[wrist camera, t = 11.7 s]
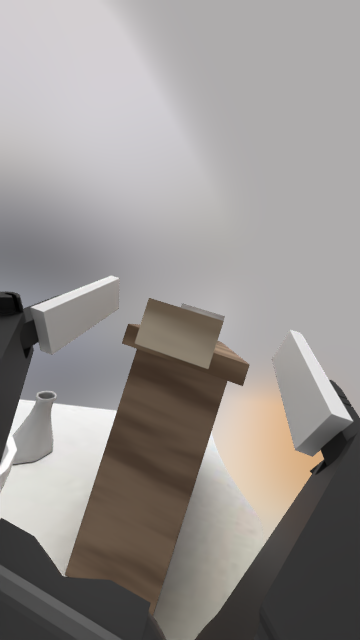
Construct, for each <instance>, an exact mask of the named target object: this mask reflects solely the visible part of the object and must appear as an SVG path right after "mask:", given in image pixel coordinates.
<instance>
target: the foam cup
mask: <svg viewBox="0 0 360 640" xmlns="http://www.w3.org/2000/svg"><path fill="white" fill-rule="evenodd" d="M16 451H17V448H16V445H15V442H14V439H13V436H12V435H10V434H9V436H8V440H7V443H6V446H5V450H4V453H3V457H2V460H1V463H0V492H1V490H2V488H3V486H4V484H5V482H6V479H7V477H8V475H9V473H10V470H11V467H12V464H13V461H14V457H15V454H16Z"/></svg>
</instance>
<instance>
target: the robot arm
mask: <svg viewBox="0 0 360 640" xmlns="http://www.w3.org/2000/svg"><path fill="white" fill-rule="evenodd" d="M118 307H119V278H117V277H113V276H109V277H107V278H104V279H101V280H99V281H97V282H94V283H91V284H89V285H86V286H84V287H81V288H78V289H76V290H73V291H71V292H68V293H66V294H63V295H58V296H55V297H53V298H51V299H47V300H45V301H42V302H40V303H37V304H35V305H32V306H29V307H27V308H24V309H23V306H22V302H21V298H20V295H19V294H17V293H14V292H0V463H1V460H2V457H3V453H4V450H5V446H6V443H7V440H8V436H9V433H10V429H11V426H12V423H13V419H14V416H15V412H16V409H17V406H18V402H19V399H20V395H21V392H22V389H23V385H24V381H25V378H26V375H27V372H28V368H29V365H30V361H31V358H32V354H33V351H34V350H33V345H34V344H36V343H37V342H39V345H40V350H41V351H44V352H46V353H49V354H51V355H52V354H54V353H55V352H57V351H58V350H60V349H61V348H62V347H64V346H65V345H67V344H68V343H70V342H71V341H73V340H74V339H76V338H77V337H78V336H80V335H81V334H83V333H84V332H86V331H87V330H89V329H90V328H91V327H93V326H94V325H96V324H97V323H99V322H100V321H102V320H103V319H105V318H106V317H107V316H109V315H110V314H112V313H113V312H115V311H116V310H117V309H118ZM272 361H273V365H274V369H275V373H276V377H277V381H278V385H279V389H280V392H281V397H282V401H283V405H284V409H285V412H286V416H287V420H288V424H289V428H290V432H291V436H292V440H293V444H294V448H295V450H297V451H299V452H302V453H305V454H307V455H310V456H314V455H315V454H316V453H317V452H319V451H320V450H321V452H322V454H323V457H324V460H323V461H322V462H320V463H319V464H318V465H317V466H315V467H314V468H313V469H312V470H311V471H310V472H311V473H312V475H311V477H310V478H309V480H308V481H307V483H306V484H305V486H304V487H303V489H302V490H301V491H300V493H299V494H298V496H297V497H296V499H295V500H294V502H293V503H292V505H291V506H290V508H289V509H288V511H287V512H286V514H285V515H284V516H283V518H282V520H281V521H280V522H279V524H278V525H277V527H276V528H275V530H274V531H273V533H272V534H271V536H270V537H269V539H268V540H267V542H266V543H265V545H264V546H263V548H262V549H261V551H260V552H259V553H258V555H257V556H256V558H255V559H254V561H253V562H252V564H251V565H250V567H249V568H248V570H247V571H246V573H245V574H244V576H243V577H242V579H241V580H240V582H239V583H238V585H237V586H236V588H235V589H234V590H233V592H232V593H231V595H230V596H229V598H228V599H227V601H226V602H225V604H224V605H223V607H222V608H221V610H220V611H219V612H218V614H217V615H216V616H215V617H214V618H213V619H212V620H211V621H210V622H209V623H208V624H207V625H206V626H205V627H204V629H203V630H202V631H201V632H200V633H199V635H198V636H197V637H196V639H195V640H360V418H359V416H358V415H357V413H356V412H355V410H354V408H353V407H351V404H350V402H349V401H348V400H347V398H346V396H345V394H344V393H343V391H342V390H341V388H339V386H337V384H336V383H335V382H333V381H332V380H329V379H328V378H327V376H326V374H325V373H324V371H323V369H322V368H321V366H320V364H319V363H318V361H317V359H316V357H315V356H314V354H313V352H312V351H311V349H310V347H309V346H308V344H307V342H306V341H305V339H304V337H303V335H302V334H301V333H299V332H296V331H292V330H289V332H288V333H287V335H286V337H285V338H284V340H283V342H282V343H281V345H280V347H279V348H278V350H277V352H276V353H275V355H274V357H273V358H272ZM150 604H151V603H150V602H149V601H147V600H145V599H143V598H141V597H140V596H138V595H136V594H134V593H133V592H131V591H129V590H127V589H126V588H124V587H122V586H120V585H119V584H117V583H115V582H113V581H112V580H105V579H88V578H72V577H64V576H62V575H61V573H60V572H59V570H58V569H57V567H56V566H55V564H54V563H53V561H52V560H51V558H50V557H49V556H48V554H47V553H46V552H45V550H44V549H43V548H42V546H41V545H40V543H39V542H38V541H37V539H36V538H35V537H34V536H32V535H31V534H29V533H27V532H25V531H24V530H22V529H20V528H18V527H17V526H15V525H13V524H11V523H10V522H8V521H6V520H4V519H2V518H1V519H0V640H166V638H165V636H164V634H163V632H162V630H161V629H160V627H159V625H158V623H157V622H156V620H155V619H154V617H153V616H152V615H151V613H150V612H149V608H150Z"/></svg>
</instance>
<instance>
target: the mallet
mask: <svg viewBox="0 0 360 640" xmlns="http://www.w3.org/2000/svg"><path fill="white" fill-rule="evenodd" d="M223 320H224V316H222V315H218V314H215V313H212V312H209V311H205V310H202V309H199V308H196V307H192V306H189V305H186V304H182V306H181V308H180V307H177V306H173V305H170V304H167V303H164V302H161V301H157V300H154V299H151V298H149V300H148V303H147V306H146V309H145V312H144V315H143V318H142V322H141V325H140V328H139V331H138V334H137V337H136V340H135V344H138V345H140V346H143V347H146V348H149V349H152V350H155V351H158V352H160V353H163V354H166V355H169V356H172V357H175V358H178V359H180V360H183V361H186V362H189V363H192V364H195V365H198V366H200V367H203V368H206V369H209V365H210V362H211V359H212V356H213V353H214V350H215V347H216V343H217V340H218V337H219V334H220V331H221V328H222V325H223Z"/></svg>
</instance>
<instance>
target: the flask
mask: <svg viewBox="0 0 360 640" xmlns="http://www.w3.org/2000/svg"><path fill="white" fill-rule="evenodd" d="M56 398H57V394H56V393H54V392H53V391H43V392H38V393H37V395H36V403H35V405H34V407H33V409H32V411H31V413H30V414H29V416H28V417H27V418H26V419H25V421H24V422H23V423H22V425H21V426H20V427H19V428H18V430H17V431H16V432H15V433H14V435H13V439H14V442H15V445H16V448H17V451H16V454H15V457H14V461H13V464H18V463H25V462H33V461H37V460H38V459H40V458H42V457H44V456H45V455H47V454H49V453H50V452H52V449H53V433H52V425H51V408H52V405H53V402H54V401H55V400H56Z"/></svg>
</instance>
